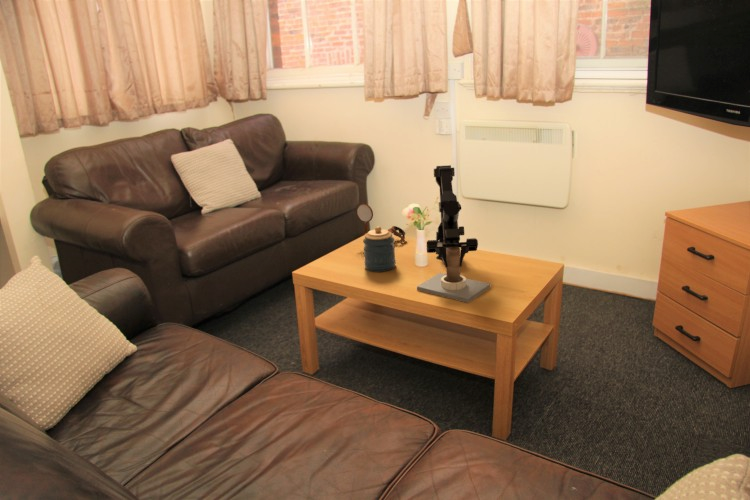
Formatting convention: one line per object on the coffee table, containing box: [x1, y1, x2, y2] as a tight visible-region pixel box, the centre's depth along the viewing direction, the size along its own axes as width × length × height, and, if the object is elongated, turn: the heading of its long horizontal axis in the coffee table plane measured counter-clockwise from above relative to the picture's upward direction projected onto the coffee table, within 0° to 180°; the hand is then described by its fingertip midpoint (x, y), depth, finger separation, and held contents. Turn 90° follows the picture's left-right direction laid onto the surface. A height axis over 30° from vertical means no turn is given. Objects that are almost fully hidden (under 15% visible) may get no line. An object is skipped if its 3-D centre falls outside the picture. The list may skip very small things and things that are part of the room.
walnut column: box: [445, 247, 461, 283], centre depth 217 cm, size 5×5×13 cm
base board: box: [416, 272, 491, 304], centre depth 220 cm, size 22×16×4 cm
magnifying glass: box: [356, 203, 374, 239], centre depth 269 cm, size 9×2×20 cm, turn 57°
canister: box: [362, 225, 397, 273], centre depth 243 cm, size 13×13×18 cm
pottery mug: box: [387, 225, 406, 244], centre depth 274 cm, size 12×10×8 cm
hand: (453, 266), depth 216 cm, fingers closed on walnut column, 5 cm apart
